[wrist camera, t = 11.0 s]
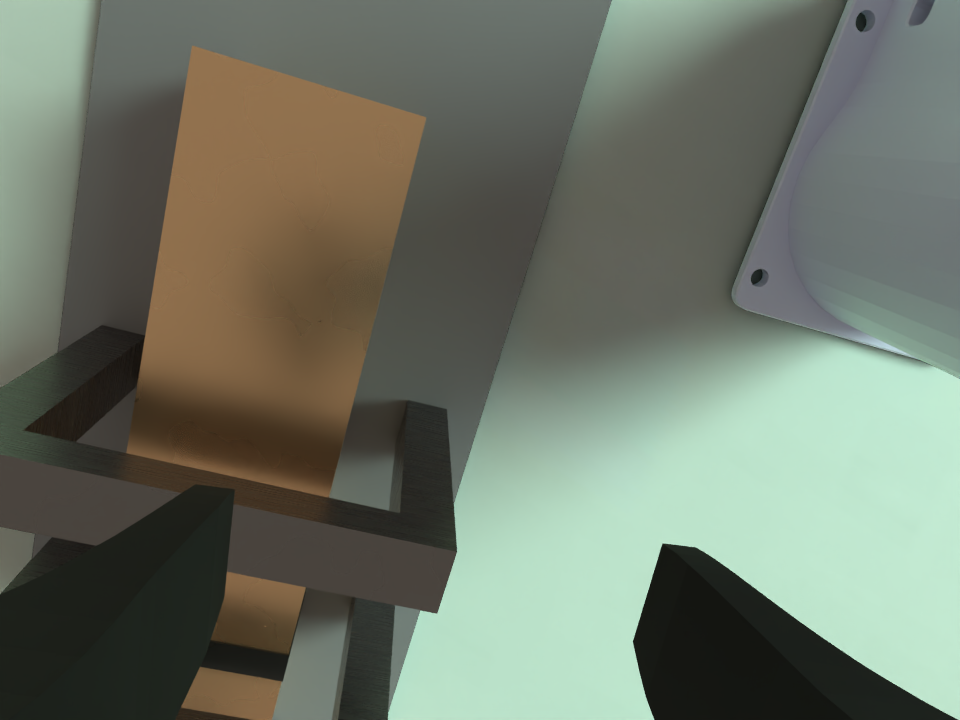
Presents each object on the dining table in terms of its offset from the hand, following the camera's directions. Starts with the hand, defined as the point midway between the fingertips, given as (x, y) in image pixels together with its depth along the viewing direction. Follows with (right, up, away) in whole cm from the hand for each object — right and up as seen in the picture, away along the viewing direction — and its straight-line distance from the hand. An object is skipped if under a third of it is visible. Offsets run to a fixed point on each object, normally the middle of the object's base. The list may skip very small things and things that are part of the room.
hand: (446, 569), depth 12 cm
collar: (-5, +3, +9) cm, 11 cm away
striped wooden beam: (-6, +1, +9) cm, 11 cm away
